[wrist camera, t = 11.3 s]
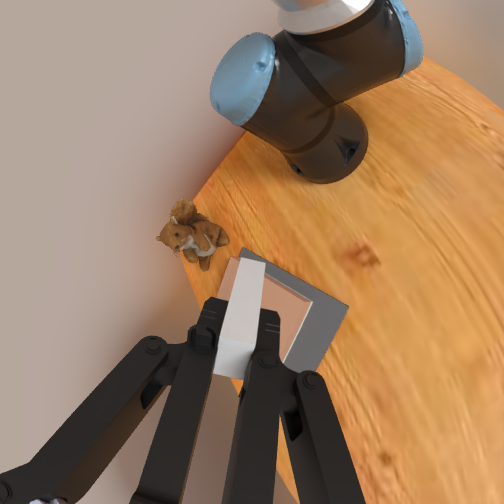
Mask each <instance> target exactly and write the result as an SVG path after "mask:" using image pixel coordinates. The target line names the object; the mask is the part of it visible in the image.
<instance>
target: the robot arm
mask: <svg viewBox="0 0 504 504" xmlns="http://www.w3.org/2000/svg"><path fill="white" fill-rule="evenodd" d="M272 1H273V2H274V3H275V4H276V5H277V6H278V7H279V10H278V23H279V25H280V26H281V27H282V28H283V29H284V30H283V31H281V32H280V33H278V34H277V35H275V36H274V37H272V38H271V37H270V36H268V35H267V34H263V33H257V32H256V33H252V34H251V35H246V36H244V37H243V38H241V39H240V40H239V41H237V42H236V43H235V44H234V45H233V46H232V47H231V48H230V49H229V51H228V52H227V53H226V54H225V56H224V57H223V59H222V60H221V62H220V63H219V65H218V67H217V69H216V71H215V73H214V76H213V78H212V82H211V86H210V100H211V104H212V106H213V108H214V109H215V110H216V111H217V112H218V113H219V114H221V115H222V116H224V117H225V118H227V119H228V120H230V121H231V122H232V123H233V124H234V125H237V126H240V127H242V128H244V129H245V130H247V131H249V132H251V133H252V134H254V135H256V136H257V137H259V138H261V139H263V140H264V141H266V142H268V143H269V144H271V145H272V146H274V147H276V148H277V149H279V150H280V151H281V152H282V154H283V155H284V157H285V159H286V160H287V162H288V163H289V165H290V166H291V168H292V169H293V170H294V171H295V172H296V173H297V174H299V175H300V176H302V177H303V178H305V179H307V180H308V181H311V182H314V183H320V184H326V183H332V182H336V181H338V180H341V179H343V178H344V177H346V176H348V175H349V174H350V173H352V172H353V171H354V170H355V169H356V168H357V167H358V165H359V164H360V163H361V161H362V160H363V158H364V156H365V153H366V150H367V146H368V131H367V128H366V125H365V123H364V122H363V120H362V119H361V117H360V116H359V115H358V113H357V112H356V111H355V110H354V109H352V108H351V107H350V106H348V105H346V104H344V103H342V102H344V101H346V100H348V99H350V98H352V97H355V96H357V95H359V94H361V93H363V92H366V91H368V90H370V89H373V88H375V87H377V86H380V85H382V84H384V83H387V82H389V81H392V80H394V79H397V78H401V77H402V76H403V75H404V74H406V73H408V72H410V71H412V70H414V69H416V68H417V67H419V65H420V64H421V62H422V60H423V44H422V40H421V37H420V33H419V31H418V28H417V26H416V24H415V22H414V20H413V19H412V18H411V17H410V16H409V13H408V10H407V8H406V7H405V5H404V4H403V2H402V1H401V0H272ZM265 264H266V263H264V262H260V261H255V260H251V259H247V258H243V257H241V260H240V263H239V267H238V271H237V274H236V278H235V281H234V285H233V289H232V292H231V296H230V300H229V301H227V300H223V299H218V298H214V297H210V298H209V299H208V300H207V301H205V303H204V306H203V309H202V311H201V314H200V317H199V319H198V322H197V324H196V325H194V326H192V327H190V329H189V330H188V338H187V341H186V342H185V343H181V344H167V343H166V341H165V340H163V339H162V338H161V337H158V336H147V337H144V338H143V339H141V340H140V341H139V342H138V344H136V345H135V347H134V348H133V349H132V350H131V351H130V352H129V353H128V354H127V355H126V356H125V357H124V358H123V359H122V360H121V361H120V363H118V365H117V366H116V367H115V368H114V369H113V370H112V371H111V372H110V373H109V374H108V375H107V376H106V378H104V380H103V381H102V382H101V383H100V384H99V385H98V386H97V387H96V388H95V389H94V391H92V393H91V394H90V395H89V396H88V397H87V398H86V399H85V400H84V401H83V402H82V404H81V405H80V406H79V407H78V408H77V409H76V410H75V411H74V412H73V413H72V414H71V416H70V417H69V418H68V419H67V420H66V421H65V422H64V423H63V425H62V426H61V427H60V428H59V429H58V430H57V431H56V432H55V434H54V435H53V436H52V437H51V438H50V439H49V440H48V441H47V443H46V444H45V445H44V446H43V447H42V448H41V449H40V450H39V452H38V453H37V454H36V455H35V456H34V457H33V458H32V460H31V461H30V462H29V463H27V464H24V465H22V466H19V467H17V468H14V469H12V470H9V471H7V472H4V473H1V474H0V504H75V503H76V502H78V501H79V500H80V499H81V498H82V497H83V496H84V495H85V494H86V493H87V492H88V490H89V489H90V488H91V486H92V485H93V484H94V483H95V481H96V480H97V479H98V478H99V476H100V475H101V474H102V472H103V471H104V470H105V468H106V467H107V466H108V464H109V463H110V462H111V461H112V459H113V458H114V457H115V455H116V454H117V453H118V451H119V450H120V449H121V447H122V446H123V445H124V443H125V442H126V441H127V439H128V438H129V437H130V435H131V434H132V433H133V431H134V430H135V429H136V427H137V426H138V425H139V423H140V422H141V421H142V419H143V418H144V417H145V415H146V414H147V413H148V411H149V410H150V409H151V407H152V406H153V405H154V403H155V402H156V400H157V399H158V398H159V397H160V395H161V394H162V393H163V391H164V390H165V388H166V387H167V386H168V385H172V386H171V389H170V392H169V395H168V397H167V400H166V403H165V406H164V409H163V412H162V415H161V418H160V421H159V424H158V427H157V430H156V432H155V435H154V438H153V441H152V445H151V447H150V450H149V454H148V456H147V460H146V463H145V466H144V469H143V472H142V475H141V478H140V482H139V485H138V488H137V490H136V491H135V493H134V494H133V496H132V498H131V500H130V503H129V504H181V503H182V499H183V495H184V490H185V486H186V482H187V478H188V473H189V469H190V465H191V461H192V457H193V453H194V449H195V445H196V441H197V436H198V432H199V428H200V424H201V420H202V416H203V412H204V408H205V404H206V400H207V396H208V392H209V388H210V383H211V379H212V374H213V373H214V374H219V375H223V376H227V377H232V378H236V379H241V380H243V379H244V382H243V386H242V388H241V391H240V394H239V396H238V397H240V399H239V405H238V411H237V417H236V423H235V429H234V436H233V441H232V447H231V452H230V458H229V464H228V469H227V475H226V481H225V487H224V492H223V498H222V504H273V493H274V483H275V472H276V460H277V446H278V432H279V415H280V417H281V421H282V426H283V430H284V435H285V439H286V444H287V448H288V453H289V457H290V461H291V466H292V470H293V474H294V479H295V483H296V488H297V492H298V496H299V500H300V504H366V503H365V500H364V496H363V493H362V490H361V487H360V484H359V481H358V477H357V474H356V471H355V468H354V465H353V462H352V459H351V456H350V453H349V450H348V447H347V444H346V441H345V438H344V435H343V432H342V429H341V426H340V423H339V421H338V418H337V415H336V412H335V409H334V406H333V403H332V400H331V398H330V395H329V392H328V389H327V386H326V384H325V381H324V379H323V377H322V376H321V375H320V374H319V373H317V372H315V371H311V370H305V371H302V372H301V373H298V372H295V371H293V370H291V369H289V368H287V367H286V366H285V365H284V364H283V363H282V361H281V359H280V355H279V351H280V323H281V318H280V316H279V314H278V312H277V311H273V310H268V309H264V308H260V306H261V298H262V290H263V281H264V273H265Z"/></svg>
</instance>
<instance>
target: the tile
mask: <svg viewBox="0 0 504 504" xmlns="http://www.w3.org/2000/svg"><path fill="white" fill-rule="evenodd" d="M240 260H241V258H240V257H233V256H231V257H230V260H229V263H228V266H227V268H226V271H225V274H224V277H223V280H222V282H221V285H220V288H219V291H218V294H217V297H216V298H218V299H223V300H227V301H229V300H230V296H231V292H232V289H233V285H234V281H235V278H236V274H237V271H238V267H239V263H240ZM312 303H313V301H311V300H310V299H308V298H306V297H305V296H303V295H301V294H300V293H298V292H296V291H295V290H293V289H291V288H290V287H288V286H286V285H285V284H283V283H281V282H280V281H278V280H276V279H275V278H273V277H271V276H270V275H268V274H266V273H264V281H263V290H262V298H261V306H260V308H264V309H268V310H273V311H277V312H278V314H279V316H280V318H281V323H280V351H279V355H280V359H281V361H282V363H284V361H285V359H286V357H287V355H288V353H289V351H290V349H291V347H292V345H293V343H294V341H295V339H296V337H297V335H298V333H299V331H300V329H301V327H302V325H303V322H304V320H305V318H306V316H307V314H308V312H309V310H310V307H311V305H312Z"/></svg>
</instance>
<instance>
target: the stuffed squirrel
mask: <svg viewBox="0 0 504 504" xmlns="http://www.w3.org/2000/svg"><path fill="white" fill-rule="evenodd" d="M193 202H194V201H192V202H191V201H190V200H188V201H187V200H183V198H182V199H181V200H180V201H179V202H177V203H176V204H175V206H174V207H173V208H172V211H171V214H170V215H171V216H170V222H169V223H167V224H166V225H165V227H164V228H163V230H162V231H161V233H160V236H158V237H157V238H156V239H157V241H162V242H163V243H164V244H165V245H167V246H169V247H170V248H171V249H173V250H174V254H175V252H176V251H178V252H180V251H182V250H183V253H184V255H185V257H186V259H187V260H188V261H189V262H191V263H196V262H197V261H198V259H199V264H200V268H201V269H202V271H207V270H208V268H209V263H210V255H212V254H213V253H214V252H215V251H216V249H217V247H219V246H224V245H227V244H229V238H228V236H227V234H226V232H225V231H224V229H223V228H222V227H220V226H218V225H216V224H213V223H211V222H209V221H208V220H207V217H204V216H203V215H202V214H200V213H197V209H196V207H195V205H194V203H193ZM178 252H176V253H177V254H178ZM178 255H180V254H178ZM175 256H176V255H175ZM180 256H182V255H180ZM176 257H177V256H176Z"/></svg>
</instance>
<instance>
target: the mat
mask: <svg viewBox="0 0 504 504" xmlns="http://www.w3.org/2000/svg"><path fill="white" fill-rule="evenodd" d="M239 257H240V258H241V257H243V258H247V259H251V260H255V261H260V262H264V263H266V264H265V273H266V274H268V275H270V276H271V277H273V278H275V279H276V280H278V281H280V282H281V283H283V284H285V285H286V286H288V287H290V288H291V289H293V290H295V291H296V292H298V293H300V294H301V295H303V296H305V297H306V298H308V299H310V300H311V301H313V303H312V305H311V307H310V310H309V312H308V314H307V316H306V318H305V320H304V322H303V325H302V327H301V329H300V331H299V333H298V335H297V337H296V339H295V341H294V343H293V345H292V347H291V349H290V351H289V353H288V355H287V357H286V359H285V361H284V363H283V364H284V365H285V366H286V367H287V368H289V369H291V370H293V371H295V372H298V373H301V372H302V371H305V370H311V371H316V369H317V367H318V366H319V364H320V362H321V360H322V358H323V357H324V355H325V353H326V351H327V349H328V347H329V346H330V344H331V342H332V340H333V338H334V336H335V334H336V332H337V330H338V328H339V326H340V324H341V322H342V320H343V318H344V316H345V314H346V312H347V310H348V308H349V306H347V305H346V304H344V303H342V302H340V301H338V300H337V299H335V298H333V297H331V296H329V295H328V294H326V293H324V292H322V291H321V290H319V289H317V288H315V287H313V286H312V285H310V284H308V283H306V282H304V281H303V280H301V279H299V278H297V277H296V276H294V275H292V274H290V273H288V272H287V271H285V270H283V269H281V268H280V267H278V266H276V265H274V264H272V263H271V262H269V261H267V260H265V259H263V258H262V257H260V256H258V255H256V254H255V253H253V252H251V251H249V250H247V249H246V248H242V250H241V253H240V256H239Z"/></svg>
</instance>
